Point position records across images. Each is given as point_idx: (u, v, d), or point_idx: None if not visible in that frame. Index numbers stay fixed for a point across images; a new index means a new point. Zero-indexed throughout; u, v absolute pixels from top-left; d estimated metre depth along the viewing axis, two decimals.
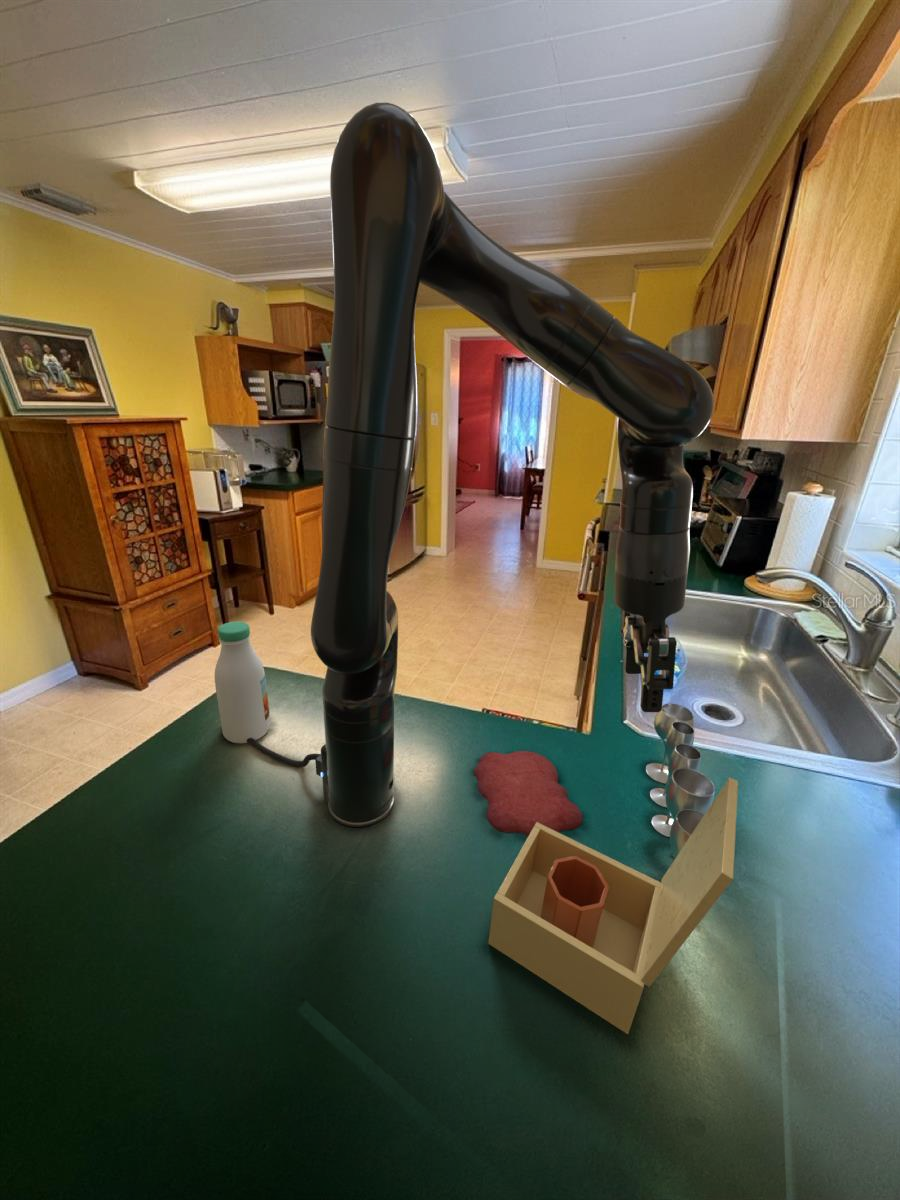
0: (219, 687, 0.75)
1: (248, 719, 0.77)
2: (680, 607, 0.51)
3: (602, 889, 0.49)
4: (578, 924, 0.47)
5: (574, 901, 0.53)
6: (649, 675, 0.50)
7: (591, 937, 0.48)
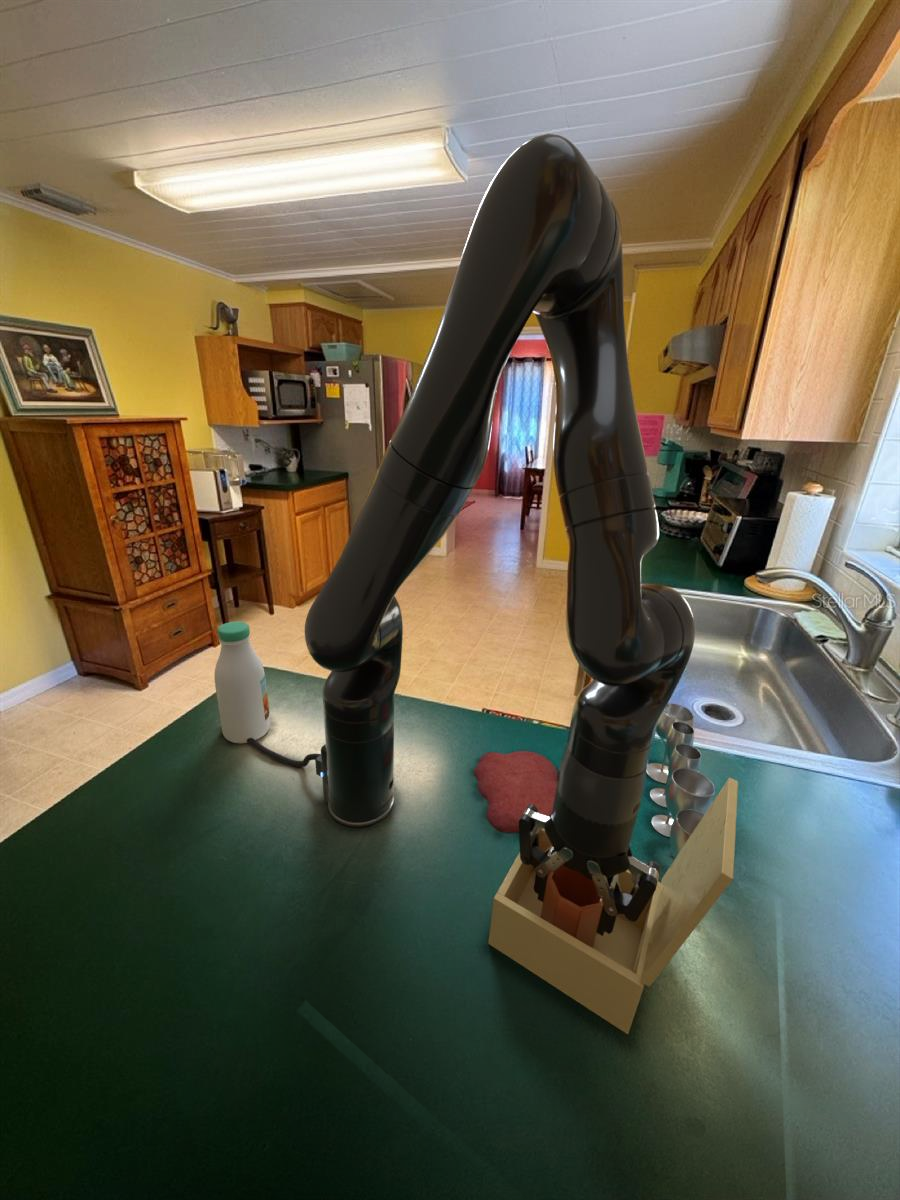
0: (219, 687, 0.75)
1: (248, 719, 0.77)
2: (556, 827, 0.45)
3: None
4: (578, 924, 0.47)
5: (574, 901, 0.53)
6: None
7: (591, 937, 0.48)
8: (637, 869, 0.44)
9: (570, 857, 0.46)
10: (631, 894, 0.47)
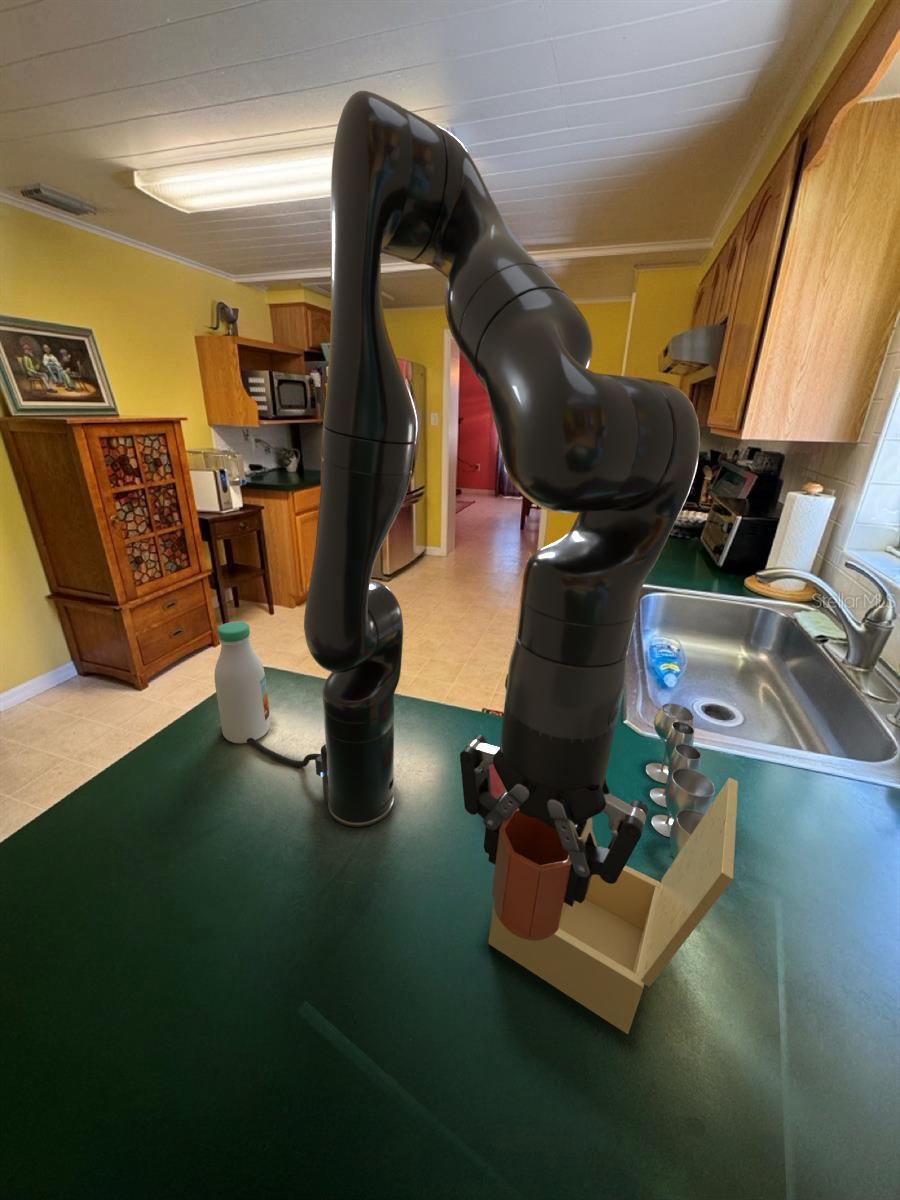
0: (219, 687, 0.75)
1: (248, 719, 0.77)
2: (504, 754, 0.32)
3: None
4: (537, 889, 0.34)
5: (538, 865, 0.41)
6: None
7: (557, 908, 0.36)
8: (616, 810, 0.32)
9: (525, 797, 0.34)
10: (609, 848, 0.34)
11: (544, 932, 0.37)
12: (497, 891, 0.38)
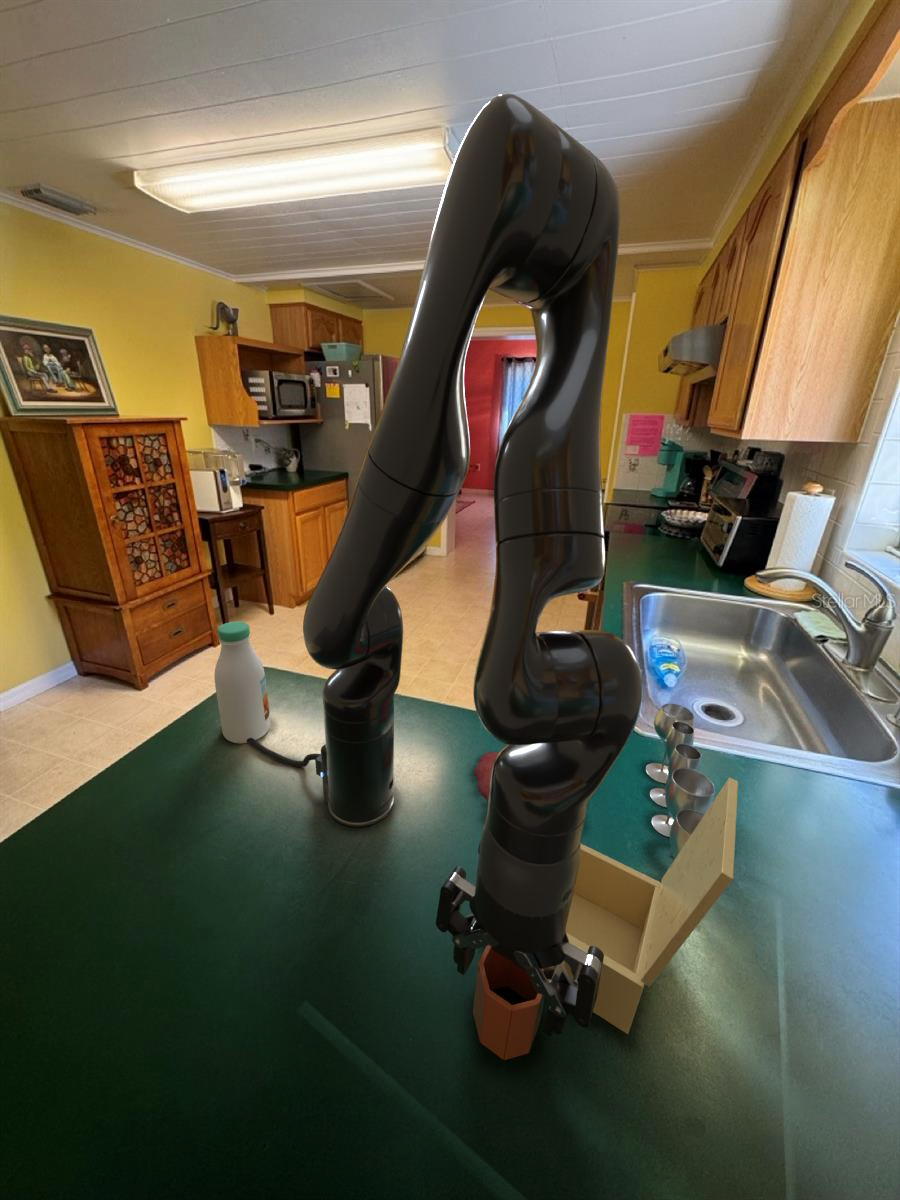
0: (219, 687, 0.75)
1: (248, 719, 0.77)
2: (476, 910, 0.37)
3: None
4: (509, 1024, 0.39)
5: (515, 984, 0.46)
6: None
7: (527, 1036, 0.41)
8: (574, 960, 0.36)
9: (495, 944, 0.38)
10: None
11: (517, 1055, 0.42)
12: (476, 1015, 0.43)
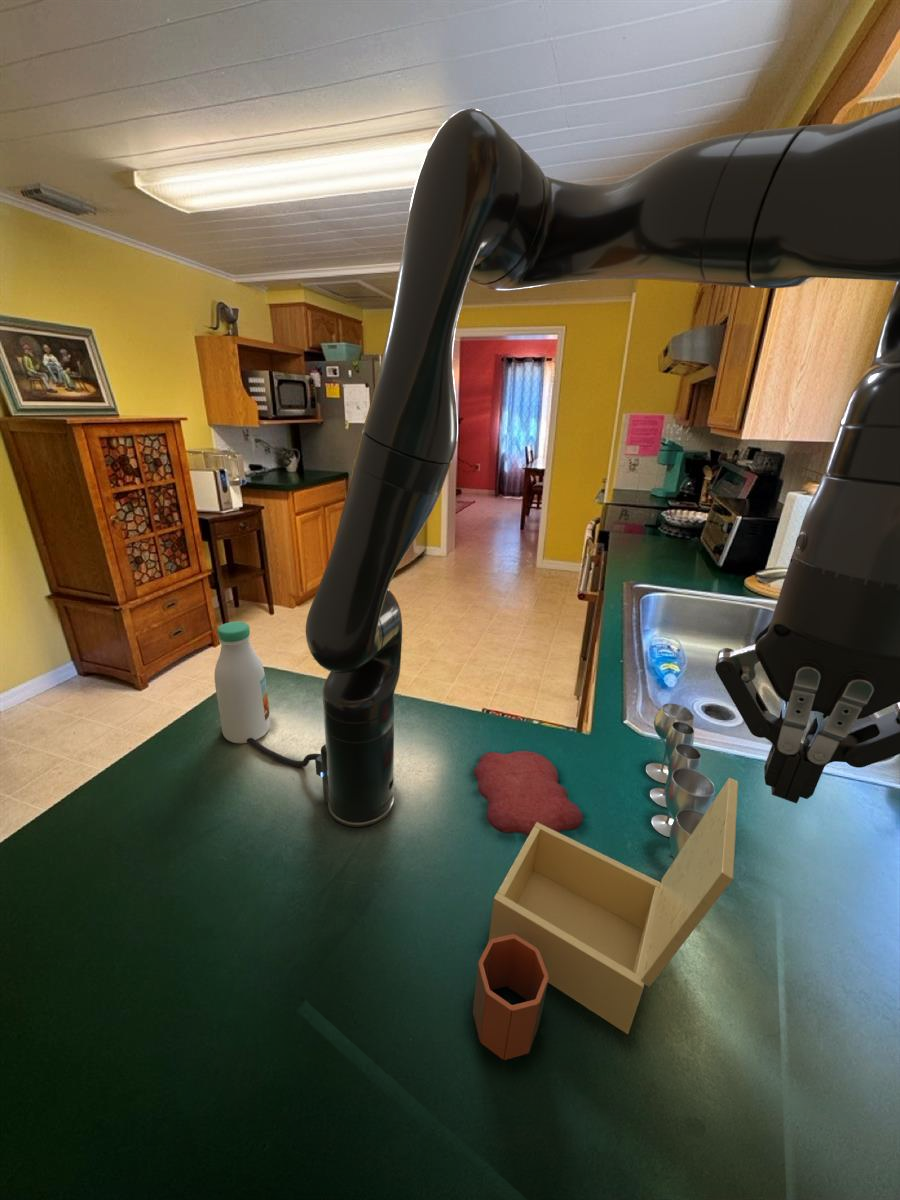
0: (219, 687, 0.75)
1: (248, 719, 0.77)
2: (799, 626, 0.28)
3: (542, 978, 0.42)
4: (509, 1024, 0.39)
5: (515, 984, 0.46)
6: None
7: (527, 1036, 0.41)
8: None
9: (817, 679, 0.29)
10: (853, 734, 0.31)
11: (517, 1055, 0.42)
12: (476, 1015, 0.43)
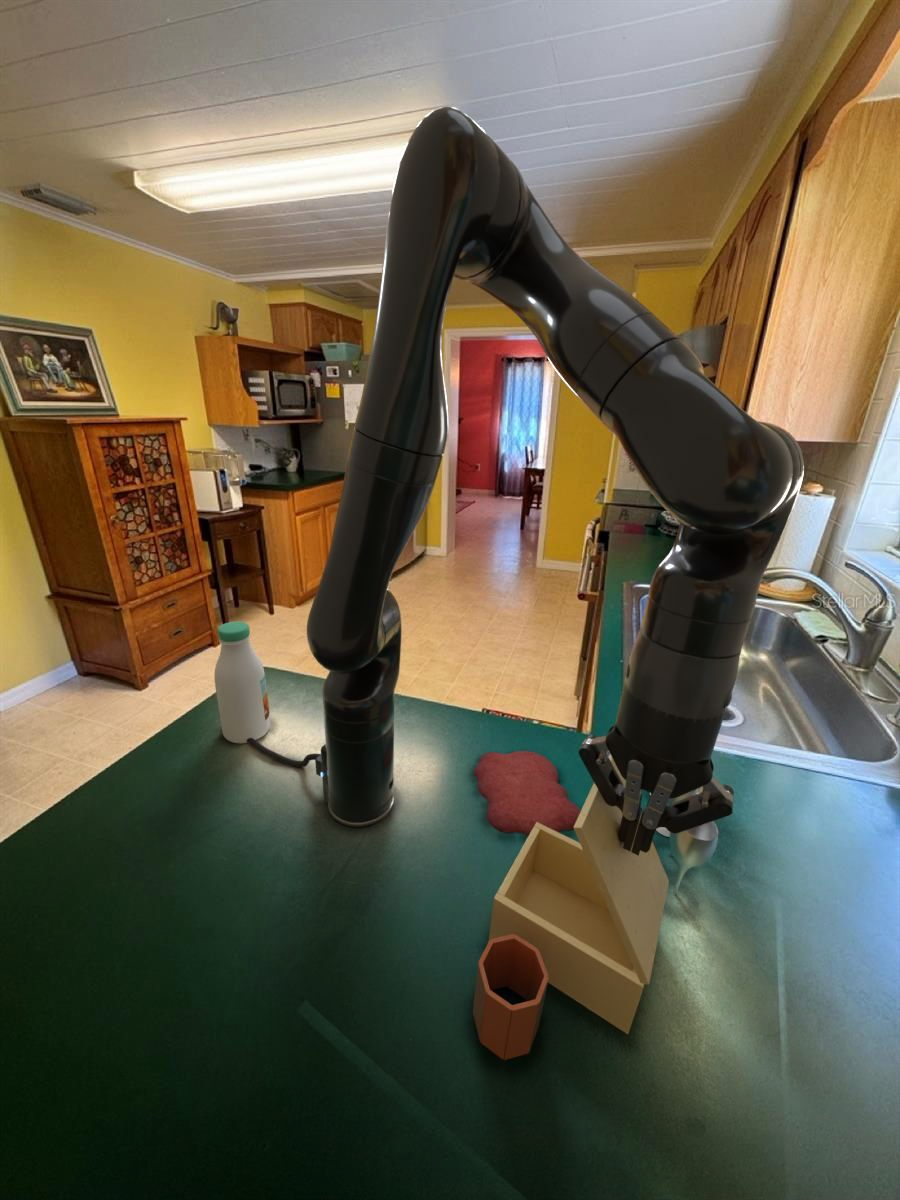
0: (219, 687, 0.75)
1: (248, 719, 0.77)
2: (624, 733, 0.38)
3: (542, 978, 0.42)
4: (509, 1024, 0.39)
5: (515, 984, 0.46)
6: None
7: (527, 1036, 0.41)
8: (715, 789, 0.38)
9: (641, 769, 0.39)
10: (676, 806, 0.41)
11: (517, 1055, 0.42)
12: (476, 1015, 0.43)
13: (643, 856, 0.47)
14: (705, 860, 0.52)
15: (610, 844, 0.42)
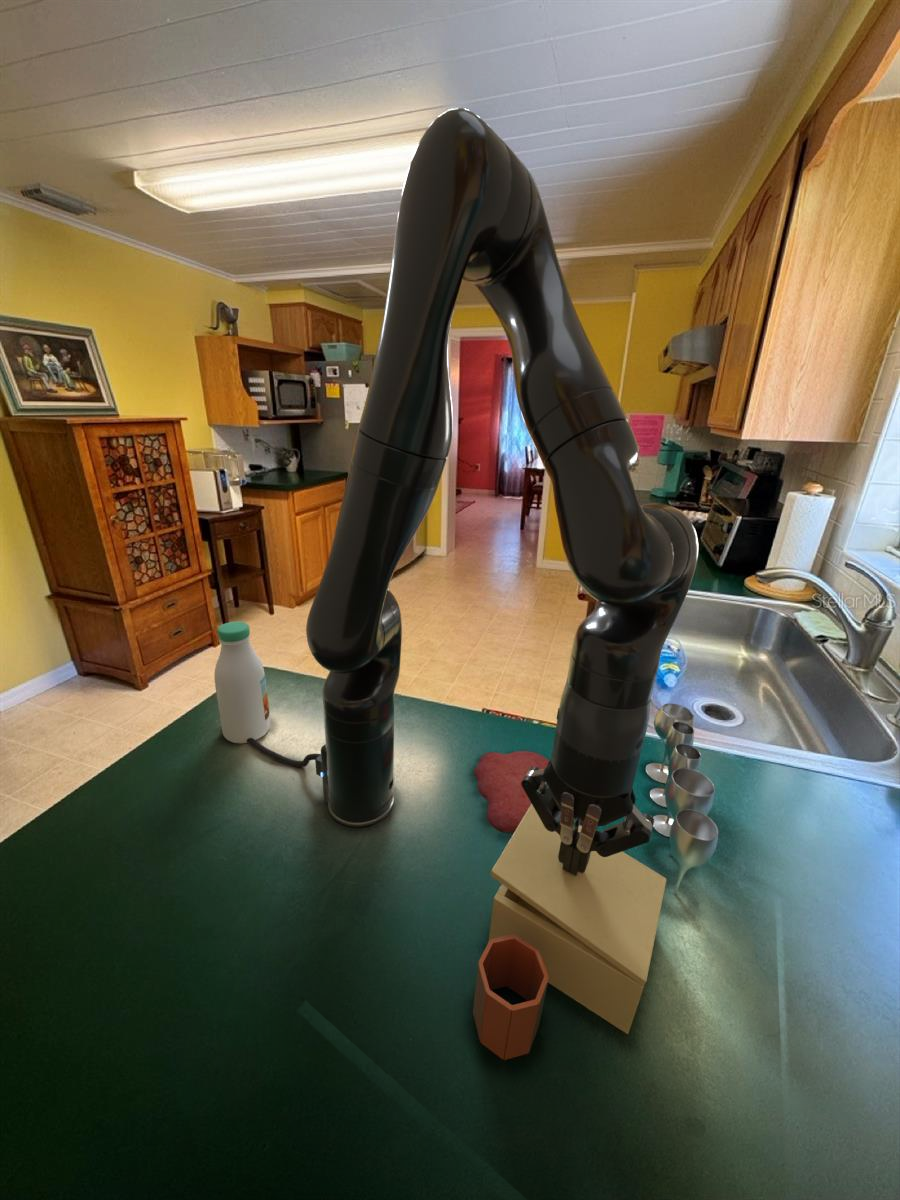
0: (219, 687, 0.75)
1: (248, 719, 0.77)
2: (555, 769, 0.43)
3: (542, 978, 0.42)
4: (509, 1024, 0.39)
5: (515, 984, 0.46)
6: (549, 801, 0.49)
7: (527, 1036, 0.41)
8: (636, 818, 0.43)
9: (572, 801, 0.44)
10: (607, 832, 0.46)
11: (517, 1055, 0.42)
12: (476, 1015, 0.43)
13: (606, 868, 0.50)
14: (705, 860, 0.52)
15: (542, 872, 0.48)
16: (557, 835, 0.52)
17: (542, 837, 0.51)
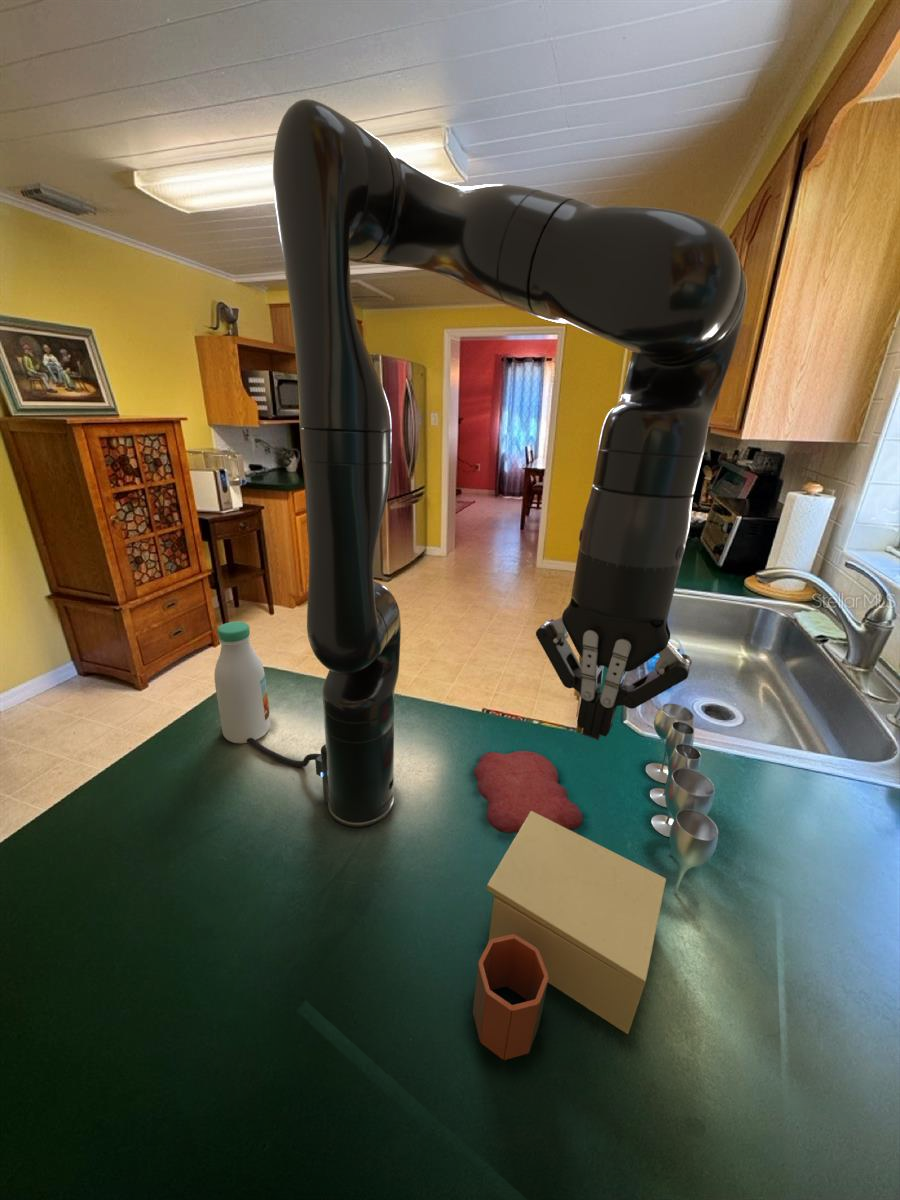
0: (219, 687, 0.75)
1: (248, 719, 0.77)
2: (578, 598, 0.37)
3: (542, 978, 0.42)
4: (509, 1024, 0.39)
5: (515, 984, 0.46)
6: None
7: (527, 1036, 0.41)
8: (671, 655, 0.37)
9: (596, 639, 0.38)
10: (635, 684, 0.40)
11: (517, 1055, 0.42)
12: (476, 1015, 0.43)
13: (604, 872, 0.50)
14: (705, 860, 0.52)
15: (538, 882, 0.48)
16: (553, 845, 0.53)
17: (538, 849, 0.52)
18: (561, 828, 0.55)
